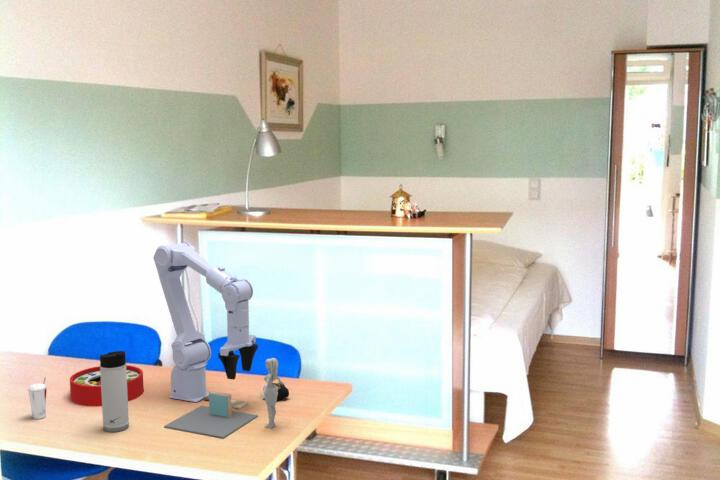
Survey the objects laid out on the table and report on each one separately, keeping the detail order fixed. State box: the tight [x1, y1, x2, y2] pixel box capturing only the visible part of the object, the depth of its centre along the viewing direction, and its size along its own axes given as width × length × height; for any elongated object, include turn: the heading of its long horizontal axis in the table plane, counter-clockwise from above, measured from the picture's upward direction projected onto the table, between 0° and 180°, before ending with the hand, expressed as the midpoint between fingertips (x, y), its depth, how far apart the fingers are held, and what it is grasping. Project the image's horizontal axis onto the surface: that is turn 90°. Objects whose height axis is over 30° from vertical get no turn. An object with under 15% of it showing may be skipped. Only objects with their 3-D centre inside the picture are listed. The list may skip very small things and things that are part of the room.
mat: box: [163, 405, 259, 440], centre depth 196 cm, size 18×16×1 cm
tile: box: [208, 390, 233, 418], centre depth 199 cm, size 6×2×6 cm, turn 66°
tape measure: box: [262, 382, 290, 401], centre depth 214 cm, size 7×7×4 cm
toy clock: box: [69, 364, 145, 407], centre depth 217 cm, size 20×6×20 cm
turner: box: [202, 396, 249, 410], centre depth 210 cm, size 13×4×1 cm, turn 66°
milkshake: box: [27, 376, 48, 420], centre depth 199 cm, size 4×5×10 cm
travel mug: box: [99, 350, 130, 433], centre depth 191 cm, size 6×7×20 cm
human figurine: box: [259, 357, 285, 429], centre depth 191 cm, size 12×4×18 cm, turn 160°
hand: (239, 374), depth 204 cm, fingers open, 7 cm apart
